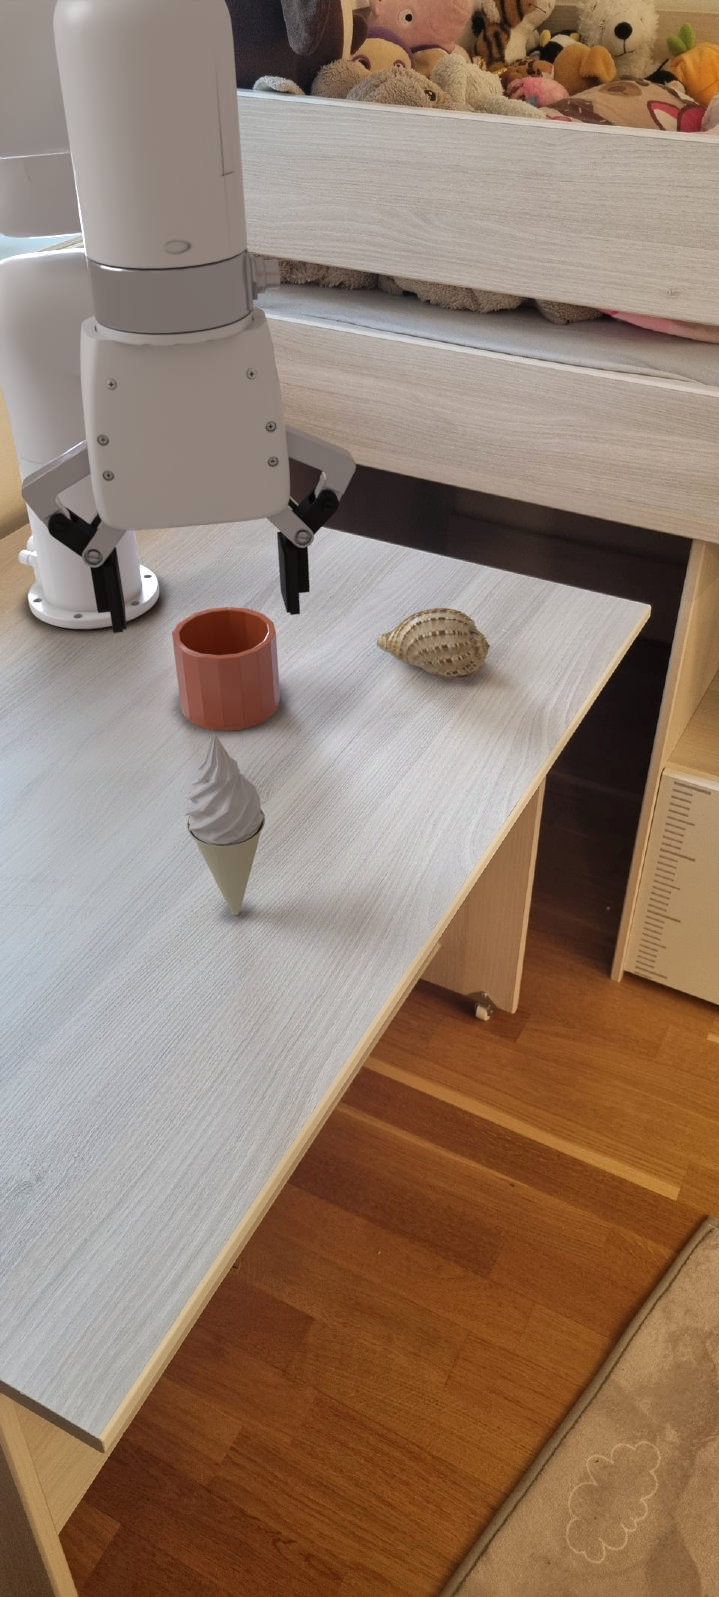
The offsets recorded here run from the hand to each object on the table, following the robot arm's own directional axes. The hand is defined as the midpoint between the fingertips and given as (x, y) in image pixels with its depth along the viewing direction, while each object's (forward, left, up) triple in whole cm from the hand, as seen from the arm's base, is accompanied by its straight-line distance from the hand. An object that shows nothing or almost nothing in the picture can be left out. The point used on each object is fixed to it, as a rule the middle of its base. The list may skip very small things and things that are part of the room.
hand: (205, 612), depth 67 cm
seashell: (-6, +35, -24) cm, 43 cm away
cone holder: (-17, +20, -23) cm, 35 cm away
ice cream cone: (0, 0, -24) cm, 24 cm away
